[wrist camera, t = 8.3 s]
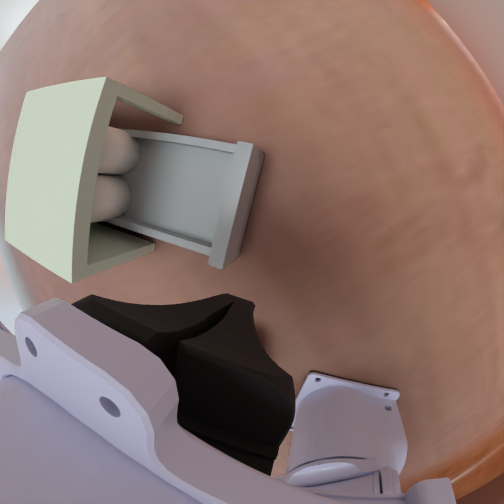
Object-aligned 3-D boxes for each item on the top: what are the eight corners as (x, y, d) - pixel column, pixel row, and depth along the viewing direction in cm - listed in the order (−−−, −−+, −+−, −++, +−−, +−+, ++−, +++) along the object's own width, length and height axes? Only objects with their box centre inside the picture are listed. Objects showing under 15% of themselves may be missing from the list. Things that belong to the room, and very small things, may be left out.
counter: (183, 115, 20) (106, 76, 11) (153, 252, 23) (71, 283, 14) (101, 111, 22) (26, 91, 12) (80, 224, 25) (4, 239, 15)
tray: (264, 154, 19) (246, 138, 14) (238, 256, 21) (212, 276, 16) (112, 130, 22) (69, 121, 16) (96, 211, 24) (53, 217, 18)
